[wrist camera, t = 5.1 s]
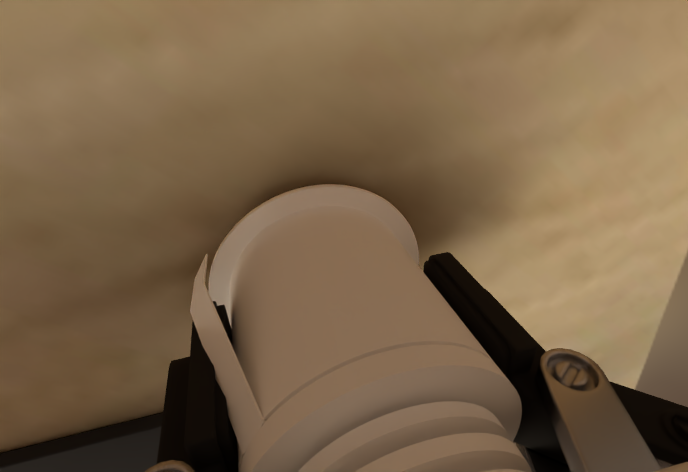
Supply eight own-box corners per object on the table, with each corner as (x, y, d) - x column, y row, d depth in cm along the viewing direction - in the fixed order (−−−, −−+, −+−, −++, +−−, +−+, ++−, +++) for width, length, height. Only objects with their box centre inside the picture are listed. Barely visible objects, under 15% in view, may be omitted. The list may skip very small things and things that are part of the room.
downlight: (459, 229, 14) (828, 565, 5) (362, 366, 16) (519, 749, 8) (247, 133, 10) (403, 736, 2) (161, 330, 12) (52, 991, 4)
